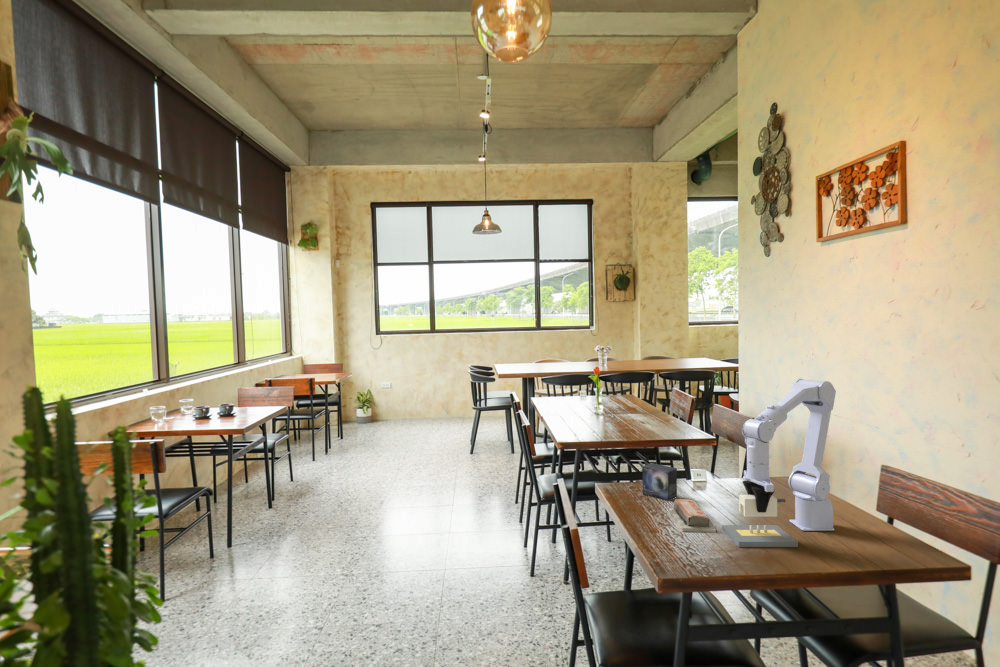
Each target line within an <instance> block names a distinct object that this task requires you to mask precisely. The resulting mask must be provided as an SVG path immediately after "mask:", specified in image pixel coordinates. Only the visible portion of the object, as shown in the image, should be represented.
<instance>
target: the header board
mask: <svg viewBox="0 0 1000 667" xmlns="http://www.w3.org/2000/svg"><path fill="white" fill-rule="evenodd" d="M722 530H723V531H724V532H725V533H726V534H727V535H728V536H729V537H730V538H729V537H728V536H727V535H726V534H725V533H724V532H723V531H722ZM721 531H722V532H723V533H724V534H725V535H726V536H727V537H728V538H729V539H730V540H731V541H732V542H733V543H734V544H735V545H736V546H737V548H798V547H799V541H798V540H797V539H796V538H794V537H792V535H790V534H789V533H788V532H786V531H785V530H783V528H781V527H780V526H778V525H777V524H752V525H751V524H745V525H743V524H737V525H734V524H732V525H731V524H723V525H721Z"/></svg>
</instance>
